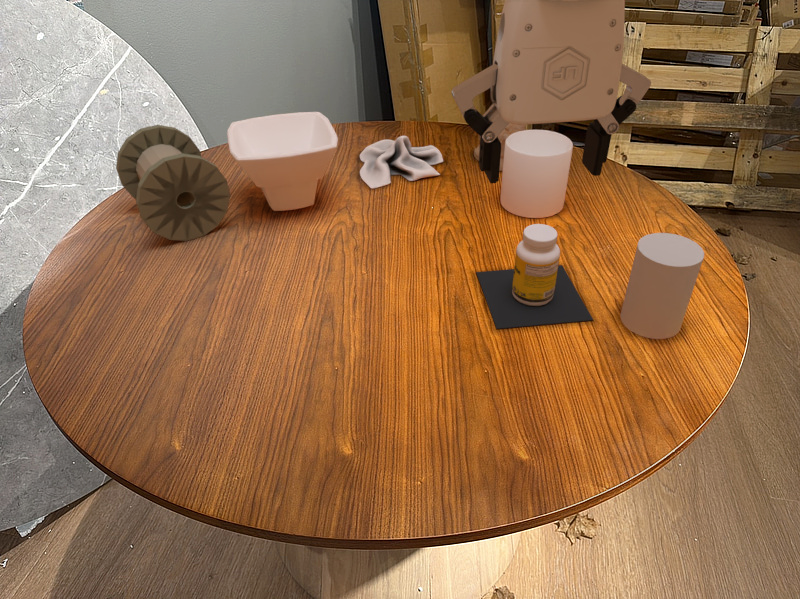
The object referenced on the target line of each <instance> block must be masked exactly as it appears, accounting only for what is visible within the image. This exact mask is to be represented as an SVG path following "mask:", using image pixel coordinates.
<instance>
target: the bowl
mask: <svg viewBox="0 0 800 599" xmlns="http://www.w3.org/2000/svg"><path fill="white" fill-rule="evenodd" d="M226 136H227V143H228V148H229V153H230V156H231V157H232V159H234V160H235V162H236V163H237V164H238V165H239V167H240V168H241V169H242V170H243V172H244V173H245V174H246V175H247V176H248V178H250V180H251V181H252V183H254V185H255V186H256V187H257V188H261V191H262V193H263V195H264V198H265V199H266V201H267V203H268V206H269V207H270V208H271V210H272V211H274V212H284V211H292V210H298V209H304V208H307V207H311V206H314V205H315V201H316V200H315V199H316V193H317V189H318V182H319V180H322V179H323V178H324V177H325V175H326V173H327V170H328V169H329V166H330V165H331V162H332V160H333V158H334V155H335V154H336V151H337V149H338V143H339V137H338V134H337V133H336V131H335V128H334V126H333V125H332V123H331V121H330V119H329V118H328V117H327V116H325V115H324V114H323V113H322V112H320V111H300V112H289V113H278V114H271V115H264V116H263V115H262V116H258V117H250V118H246V119H242V120H238V121H237V120H236V121H232V122H231V123H230V125H229V127H228V129H227V131H226Z"/></svg>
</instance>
